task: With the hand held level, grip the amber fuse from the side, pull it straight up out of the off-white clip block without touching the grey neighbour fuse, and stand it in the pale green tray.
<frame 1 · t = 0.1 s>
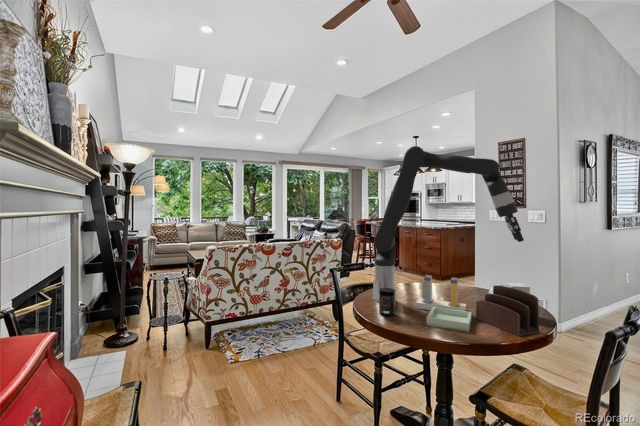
hand: (519, 240, 140), 31 cm above the table, tool tilted 20°, fingers open, 8 cm apart
supplement box: (516, 314, 141), on the table
supplement container: (387, 314, 142), on the table
clip block: (440, 308, 149), on the table
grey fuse: (428, 307, 151), resting in clip block
letter holder: (505, 326, 128), on the table
amber fuse: (454, 310, 146), resting in clip block
tray: (449, 322, 132), on the table
cat figurine: (499, 304, 156), on the table
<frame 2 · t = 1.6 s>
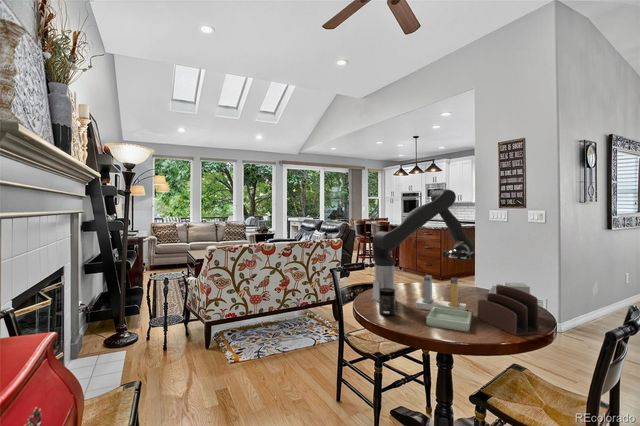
hand: (457, 256, 155), 22 cm above the table, tool horizontal, fingers open, 8 cm apart
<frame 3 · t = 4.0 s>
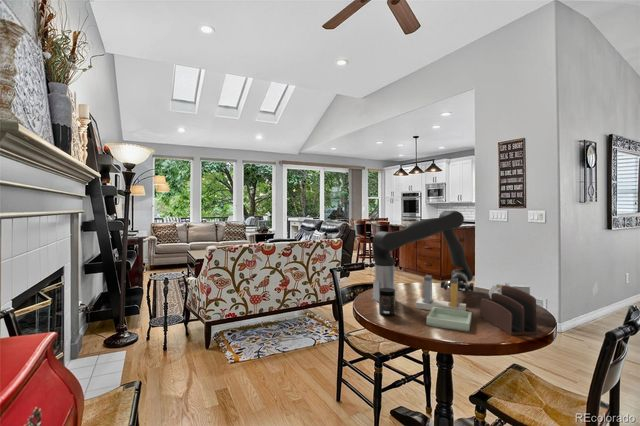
hand: (455, 289, 152), 8 cm above the table, tool horizontal, fingers open, 8 cm apart
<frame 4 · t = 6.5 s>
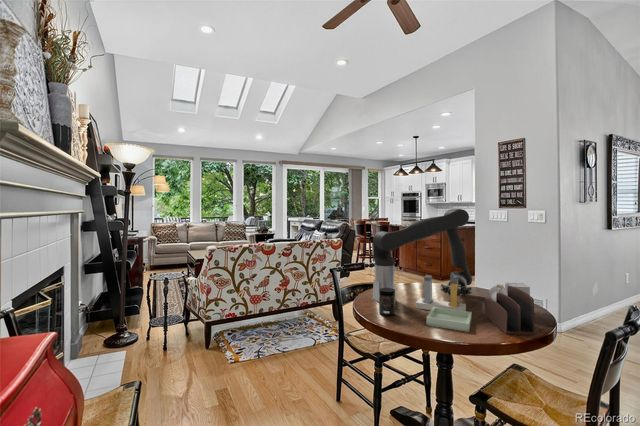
hand: (453, 293, 143), 8 cm above the table, tool horizontal, fingers closed on amber fuse, 2 cm apart
amber fuse: (454, 310, 146), resting in clip block, touching gripper
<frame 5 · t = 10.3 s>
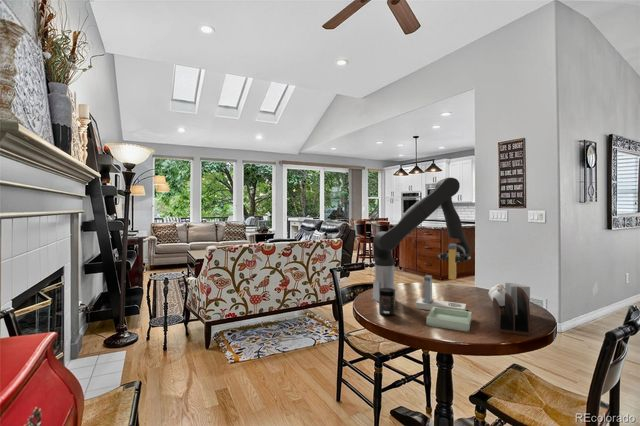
hand: (452, 259, 136), 24 cm above the table, tool horizontal, fingers closed on amber fuse, 2 cm apart
amber fuse: (452, 277, 139), point 16 cm above the table, touching gripper
when the fingers open (10 cm above the table, at t = 14.1 s): amber fuse drops 1 cm, resting on tray.
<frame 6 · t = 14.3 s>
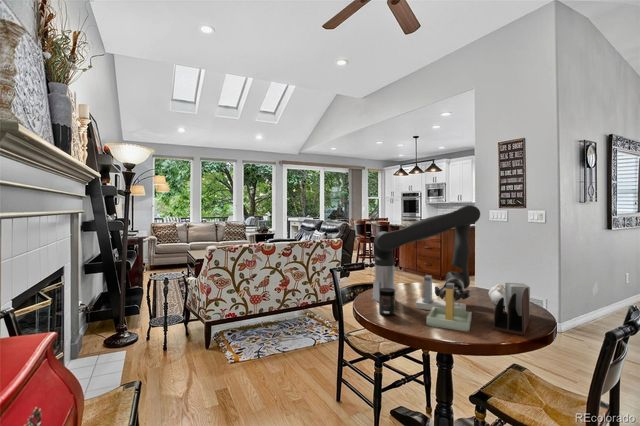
hand: (449, 297, 129), 11 cm above the table, tool horizontal, fingers open, 4 cm apart
amber fuse: (449, 319, 132), point 1 cm above the table, touching tray
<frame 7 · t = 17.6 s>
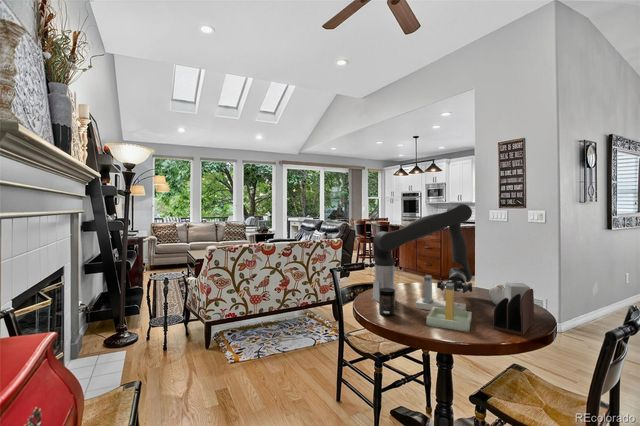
hand: (452, 289, 141), 10 cm above the table, tool horizontal, fingers open, 8 cm apart
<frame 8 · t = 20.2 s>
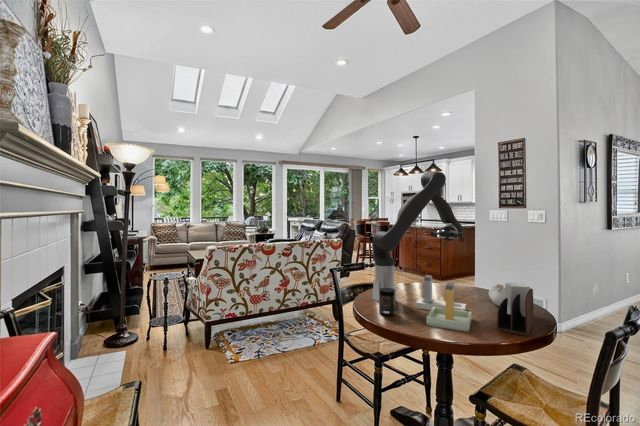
hand: (444, 235, 154), 32 cm above the table, tool horizontal, fingers open, 8 cm apart
at the end: amber fuse inside the target area on the tray (0.2 cm from its centre), point 1.0 cm above the tray's base; the gripper is holding nothing; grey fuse moved 0.0 cm from its start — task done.
